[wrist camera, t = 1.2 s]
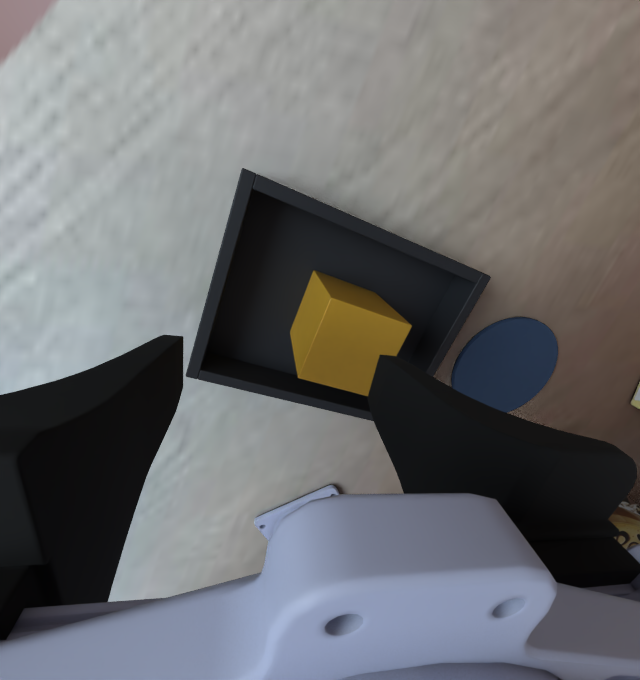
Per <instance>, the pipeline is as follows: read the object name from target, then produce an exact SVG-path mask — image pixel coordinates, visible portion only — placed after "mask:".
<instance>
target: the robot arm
mask: <svg viewBox="0 0 640 680" xmlns="http://www.w3.org/2000/svg"><path fill="white" fill-rule="evenodd" d="M182 389H183V336H172V335H162V336H160V337H157V338H155V339H153V340H151V341H149V342H147V343H145V344H143V345H141V346H139V347H137V348H135V349H133V350H131V351H129V352H127V353H125V354H123V355H121V356H119V357H116V358H114V359H112V360H110V361H107V362H105V363H103V364H101V365H98V366H96V367H94V368H91V369H88V370H86V371H83V372H80V373H78V374H75V375H72V376H69V377H66V378H63V379H60V380H56V381H53V382H50V383H46V384H42V385H38V386H35V387H31V388H27V389H24V390H20V391H16V392H12V393H8V394H3V395H0V680H640V544H637V545H633V546H631V547H629V548H627V549H625V548H624V547H623V546H622V545H621V544H620V543H619V542H618V541H617V540H616V539H615V538H614V537H617V536H618V535H619V534H620V532H619V529H618V528H617V527H616V526H615V525H614V524H613V523H612V522H611V521H610V520H609V517H610V516H611V515H612V514H613V512H614V511H615V510H616V509H617V507H618V506H619V505H620V504H621V502H622V501H623V500H624V499H625V497H626V496H627V495H628V493H629V492H630V490H631V489H632V487H633V486H634V483H635V480H636V478H637V467H636V464H635V462H634V460H633V459H632V458H631V457H629V456H628V455H627V454H625V453H624V452H623V451H621V450H620V449H619V448H617V447H616V446H614V445H612V444H610V443H607V442H604V441H600V440H596V439H592V438H588V437H584V436H580V435H576V434H572V433H567V432H564V431H560V430H556V429H553V428H550V427H546V426H543V425H540V424H536V423H533V422H530V421H527V420H524V419H522V418H519V417H516V416H513V415H511V414H508V413H505V412H503V411H500V410H498V409H495V408H493V407H490V406H488V405H486V404H484V403H481V402H479V401H477V400H475V399H473V398H471V397H469V396H466V395H464V394H462V393H461V392H459V391H457V390H455V389H453V388H451V387H449V386H448V385H446V384H444V383H442V382H441V381H439V380H437V379H435V378H434V377H432V376H430V375H429V374H427V373H425V372H424V371H422V370H420V369H419V368H417V367H415V366H413V365H412V364H410V363H408V362H406V361H405V360H403V359H401V358H398V357H396V356H391V355H379V359H378V362H377V366H376V369H375V373H374V376H373V380H372V383H371V387H370V390H369V394H368V397H367V399H368V403H369V407H370V411H371V414H372V417H373V420H374V423H375V425H376V427H377V430H378V432H379V434H380V436H381V439H382V441H383V443H384V445H385V447H386V450H387V452H388V454H389V456H390V458H391V461H392V463H393V465H394V467H395V470H396V472H397V475H398V477H399V480H400V483H401V486H402V489H403V492H404V494H340V493H339V492H338V490H337V488H336V487H335V486H334V485H329V486H326V487H324V488H322V489H320V490H317V491H315V492H313V493H311V494H308V495H306V496H304V497H301V498H299V499H297V500H295V501H292V502H290V503H288V504H286V505H283V506H281V507H279V508H276V509H274V510H272V511H270V512H267V513H265V514H263V515H261V516H258V517H257V518H255V523H254V524H255V526H256V527H257V528H258V529H259V530H260V532H261V533H262V534H263V535H264V536H265V537H266V539H267V540H268V547H267V552H266V558H265V564H264V567H263V570H262V572H261V573H257V574H253V575H250V576H246V577H242V578H239V579H235V580H231V581H227V582H224V583H220V584H216V585H212V586H209V587H205V588H201V589H198V590H194V591H190V592H186V593H183V594H179V595H175V596H172V597H168V598H158V599H144V600H130V601H117V602H108V598H109V595H110V591H111V587H112V584H113V581H114V577H115V574H116V570H117V567H118V564H119V560H120V557H121V554H122V550H123V547H124V544H125V540H126V537H127V534H128V531H129V528H130V525H131V521H132V518H133V515H134V512H135V509H136V506H137V503H138V500H139V497H140V494H141V491H142V488H143V485H144V482H145V479H146V476H147V474H148V471H149V469H150V467H151V464H152V462H153V460H154V458H155V456H156V453H157V451H158V449H159V447H160V445H161V443H162V441H163V438H164V436H165V434H166V432H167V430H168V428H169V425H170V423H171V421H172V419H173V417H174V414H175V412H176V409H177V406H178V403H179V400H180V396H181V392H182Z"/></svg>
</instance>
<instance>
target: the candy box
mask: <svg viewBox="0 0 640 680" xmlns="http://www.w3.org/2000/svg"><path fill="white" fill-rule="evenodd" d="M631 405H633V406H634V407H636V408H638V409H640V382H639V385H638V387H637V389H636V392H635V394H634V396H633V398H632V400H631Z"/></svg>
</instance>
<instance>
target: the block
mask: <svg viewBox="0 0 640 680" xmlns="http://www.w3.org/2000/svg"><path fill="white" fill-rule="evenodd" d="M411 327H412V325H411V324H410V323H409V322H407V321H406V320H405V319H404V318H403V317H402V316H401V315H400V314H398V313H397V312H396V311H395V310H394V309H393V308H392V307H391V306H390V305H388V304H387V303H386V302H385V301H384V300H383V299H382V298H381V297H380V296H378V295H377V294H376V293H375V292H372V291H369V290H367V289H364V288H361V287H359V286H356V285H353V284H351V283H348V282H345V281H342V280H340V279H337V278H334V277H332V276H329V275H326V274H323V273H321V272H318V271H315V270H314V271H313V273H312V276H311V278H310V281H309V283H308V286H307V289H306V291H305V294H304V296H303V299H302V302H301V304H300V307H299V310H298V312H297V315H296V317H295V320H294V323H293V325H292V328H291V330H290V336H291V341H292V347H293V353H294V359H295V364H296V370H297V376H298V378H300V379H304V380H308V381H311V382H315V383H319V384H323V385H327V386H330V387H334V388H338V389H342V390H346V391H350V392H353V393H357V394H361V395H365V396H368V394H369V390H370V387H371V383H372V380H373V376H374V373H375V369H376V366H377V362H378V359H379V355H391V356H397V354H398V352H399V350H400V348H401V346H402V344H403V343H404V341H405V339H406V337H407V335H408V333H409V331H410V329H411Z"/></svg>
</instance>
